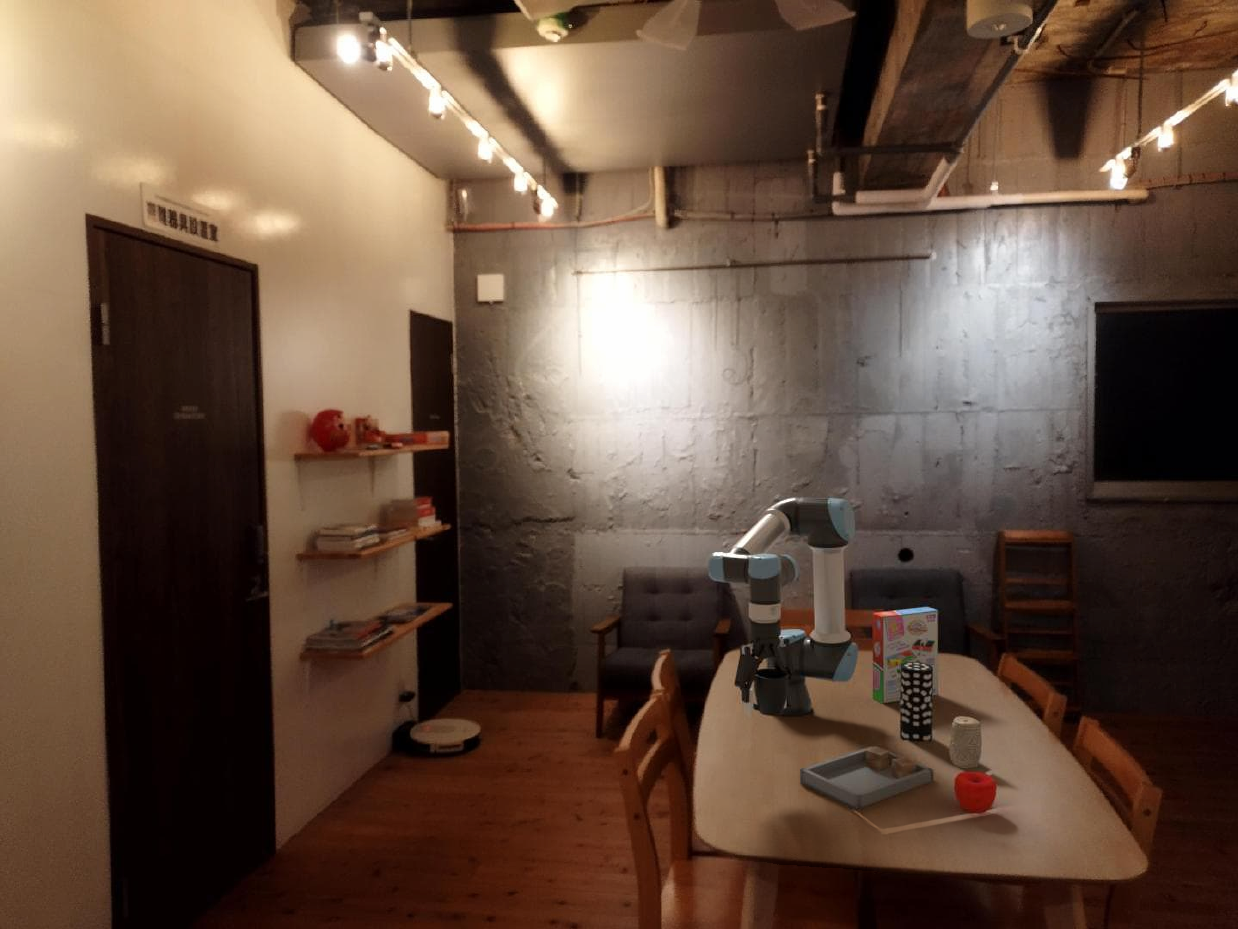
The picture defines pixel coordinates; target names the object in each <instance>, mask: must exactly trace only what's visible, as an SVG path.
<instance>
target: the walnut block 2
mask: <svg viewBox="0 0 1238 929" xmlns="http://www.w3.org/2000/svg"><path fill="white" fill-rule="evenodd" d="M903 757H904V756H903ZM914 762H915V761H914ZM914 762H913V760H911V759H910V758H908V757H907V756H906V757H904V758H898V759H892V776H893V777H895V778H896V779H899V778H902V777H905V776H908V775H911V774H913V773H916V763H917V762H916V763H914Z"/></svg>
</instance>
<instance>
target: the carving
mask: <svg viewBox="0 0 1238 929" xmlns="http://www.w3.org/2000/svg"><path fill="white" fill-rule="evenodd" d="M982 746H983V738H982V726H981V723H980V721H978V720H977V719H975V718H973V717H969V716H963V715H962V716H956V717H954V719H953V721H952V724H951V730H950V740H949V757H950V762H951V763H952V764H953V765H954V766H956V767H958V768H962V769H975V768H977V767H979V763H980V759H981V757H982V756H981V755H982V751H983V750H982Z"/></svg>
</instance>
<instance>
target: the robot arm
mask: <svg viewBox="0 0 1238 929" xmlns="http://www.w3.org/2000/svg"><path fill="white" fill-rule="evenodd" d="M855 517H856V516H855V513H854V510H853V508H852V505H851V504H850V502H849V501H848V500H846V499H843V498H836V497H819V496H817V497H812V496H793V497H788V498H785V499H782V500H779V501H777V502H776V503H774V504H772V505H770V506H769V507H768V508H766V509H765V510H764V511H763V512H762V513H760V515H759V516H758V520H757V522H756V523H755V524H754V525H753V526H752V527H751V528H750V529H749V530H748V531H747V532H746V533H745V534H744V535H743V536H742V537H741V538H740V539H739V540H738V541H737V542H736V543H735V544H734V545H733V546H731V548H730V549H729V550H727V552H723V551H719V552H717V551H715V552H713V553H712V554H711V555H710V556H709V559H708V563H707V571H708V576H709V578H710V579H711V580H712V581H714V582H715V581H717V582H722V583H723V584H726V583H729V584H738V585H739V584H742V585H748V617H749V621H748V634H749V636H750V642H749V643H748V644H746V645H745V644H740V646H739V659H738V663H737V668H736V673H735V674H736V675H735V678H734V686H735V687H737V688H739V689H740V688H741V689H742V691H741V702H743V715H746V716H749V717H751V718H752V717H754V709H753V703H754V688H751V687H752V685H753V684H754V678H755V675H756V673H757V670H758V669H760V665H761V664H762V663H763V661H764V660H765V668H774V669H777V670H778V671H779V672H781V673H783V671H786V672H787V673H788V693H787V698H786V702H785V706H784V709H783V713H782V714H781V715H780V716H786V717H791V716H801V715H805V714H808V713H809V712H811V711H812V700H811V697H810V694H809V690H808V687H807V683H806V678H810V679H817V680H823V681H830V682H833V683H835V682H840V683H846V682H847V683H848V682H849V681H850V680H851V679H852V677H853V675H854V673H855V670H856V666H857V662H858V656H859V647H858V644H857V643H855V642H854V641H852V636H851V633H850V632H848V630H846V610H845V608H846V607H845V603H846V602H845V572H844V571H845V567H844V566H845V565H844V564H845V563H844V550H845V549H847V547H848V546H849V544H850V543H849V542H850V541H851V540H853V539H854V537H855V534H856V518H855ZM787 537H799V538H806V546H808V548H809V549H811V551H812V566H813V599H814V600H813V603H814V607H813V608H814V629H813V630H812V631H811V632H810V633H809V636H807V633H806V631H805V630H802V629H799V628H798V629H794V628H792V629H781V628H782V622H781V620H780V619H781V617H782V616H781V614H782V610H781V608H782V607H781V606H782V603H781V601H782V600H781V599H782V597H781V595H782V594H781V590H782V589H783V588H785V587H787V586H790V585H791V584H792V583H794V581H796V580H797V578H798V576H799V573H800V568H799V564H798V562H797V560H795V558H793V556H791V555H788V554H778V555H777V554H774V553H773V554H772V553H768V552H769V551H770V550H771V549H772V548H773V546H774V545H775V544H776V543H777V542H779V541H782V540H784V539H786V538H787Z"/></svg>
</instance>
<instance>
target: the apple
mask: <svg viewBox="0 0 1238 929" xmlns="http://www.w3.org/2000/svg"><path fill="white" fill-rule="evenodd" d="M953 790H954V794H955V797H956V799H957V801H958V803H959V805H960V807H961V808H962V810H965V811H966V812H970V813H972V814H983V813H986V812H987V811H989V810H990V808H991V807H992V806H993V804H994V801H995V799H996V797H997V784H996V781H995V779H994V778H993V777H991V776H990V775H987V774H984V773H982V772H976V771H975V772H974V771H963V772H959V773H958V774H957V775H956V776H955V778H954V784H953Z"/></svg>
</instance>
